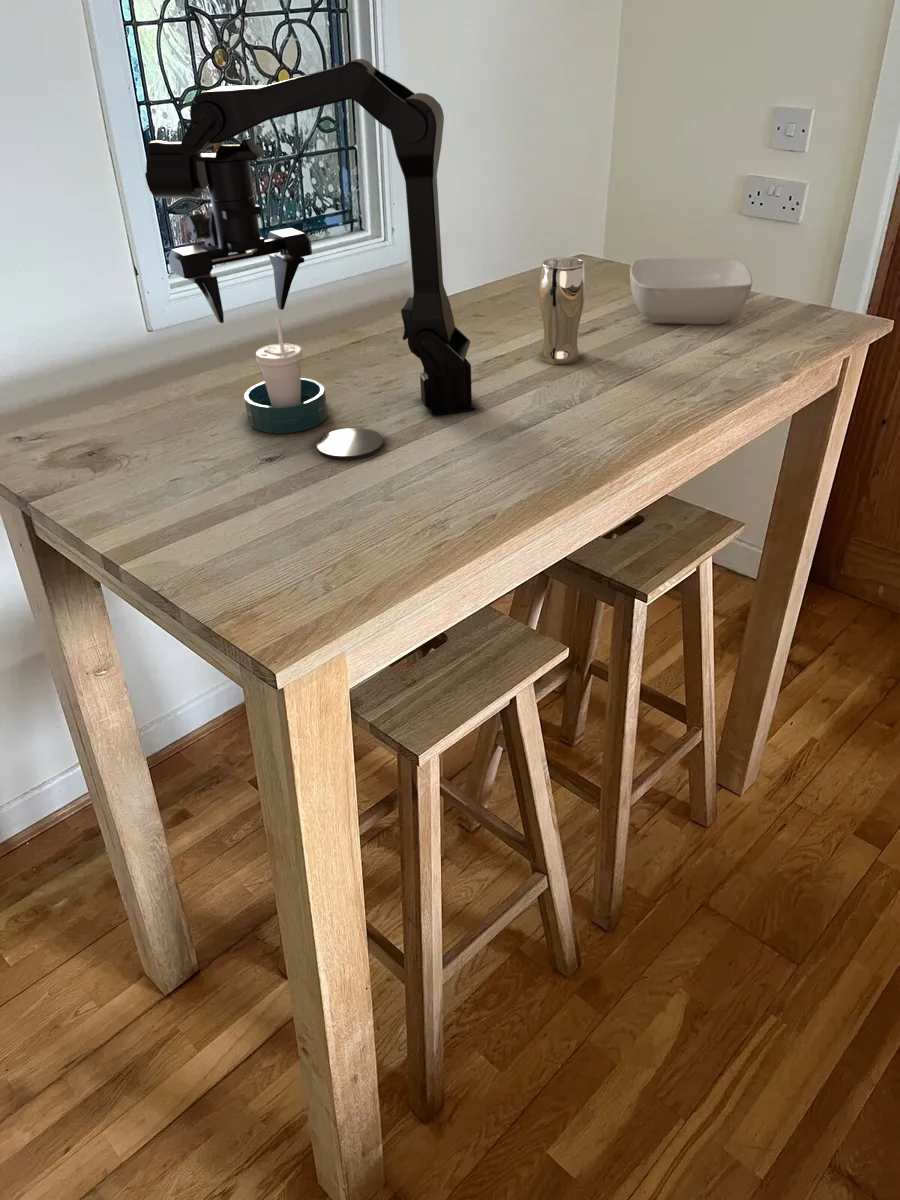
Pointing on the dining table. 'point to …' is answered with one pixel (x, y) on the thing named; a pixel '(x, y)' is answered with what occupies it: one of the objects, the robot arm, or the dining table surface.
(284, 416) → the teal faceted dish
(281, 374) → the smoothie
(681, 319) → the bowl
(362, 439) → the coaster
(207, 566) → the dining table surface
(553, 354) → the beer glass
